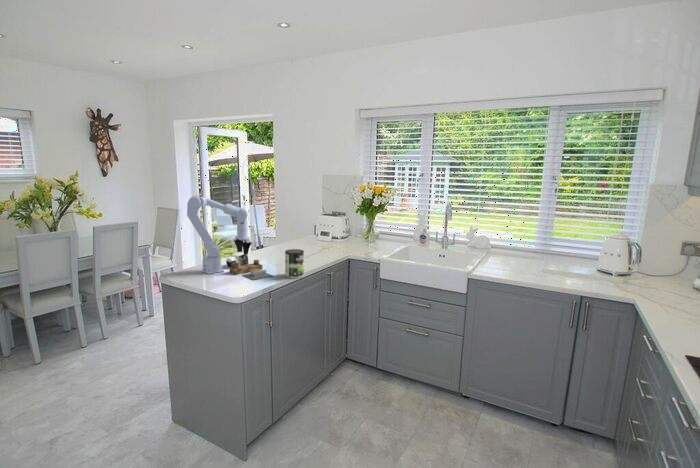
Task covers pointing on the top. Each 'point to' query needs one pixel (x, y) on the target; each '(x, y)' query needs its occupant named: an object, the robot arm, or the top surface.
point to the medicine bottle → (238, 259)
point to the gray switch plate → (257, 276)
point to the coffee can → (294, 263)
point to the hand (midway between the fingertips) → (242, 253)
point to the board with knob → (244, 267)
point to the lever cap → (258, 272)
